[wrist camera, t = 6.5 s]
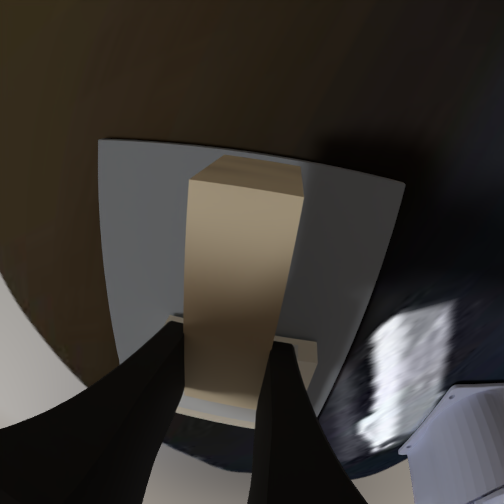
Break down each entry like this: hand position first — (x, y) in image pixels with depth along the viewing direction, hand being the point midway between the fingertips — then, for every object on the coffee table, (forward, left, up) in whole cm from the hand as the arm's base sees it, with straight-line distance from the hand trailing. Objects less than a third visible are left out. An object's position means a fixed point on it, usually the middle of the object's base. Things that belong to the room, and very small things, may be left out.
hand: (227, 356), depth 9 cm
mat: (-4, +1, -7) cm, 8 cm away
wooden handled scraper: (-1, 0, -3) cm, 3 cm away
